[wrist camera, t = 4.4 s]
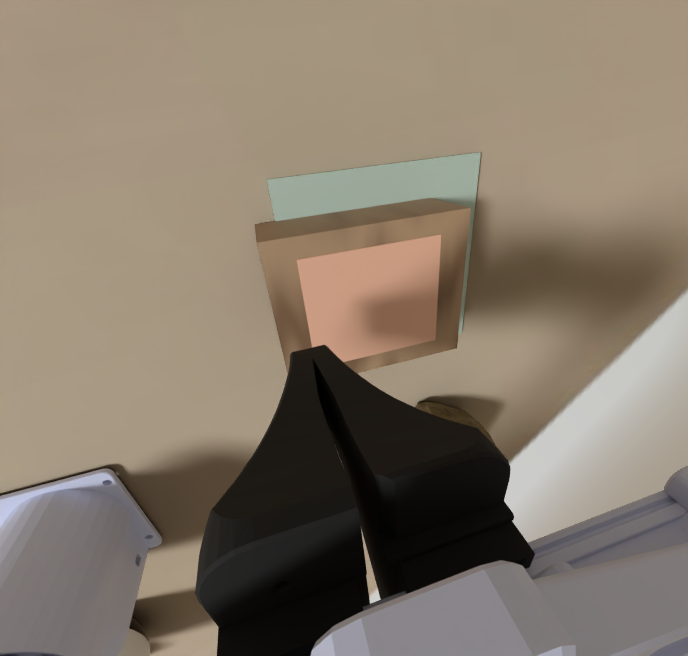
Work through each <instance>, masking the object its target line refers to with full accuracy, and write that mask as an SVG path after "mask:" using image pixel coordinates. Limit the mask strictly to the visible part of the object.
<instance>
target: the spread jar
mask: <svg viewBox="0 0 688 656" xmlns="http://www.w3.org/2000/svg"><path fill="white" fill-rule="evenodd" d="M119 656H150V644H149V640H148V637H147V634H146V632H145V630H144V629H143V627H142V626H141V625H140V623H139V622H138V621H136V620H135V619H134V618H133V617H132V618H131V622H130V627H129V631H128V634H127V637H126V640H125V643H124V645H123V648H122V650H121V652H120V654H119Z"/></svg>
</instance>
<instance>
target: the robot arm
mask: <svg viewBox="0 0 688 656" xmlns="http://www.w3.org/2000/svg"><path fill="white" fill-rule="evenodd" d="M333 441H334V442H333ZM335 446H336V447H335ZM336 449H337V450H336ZM337 452H338V453H337ZM338 454H339V455H338ZM339 457H340V458H339ZM340 459H341V460H340ZM341 462H342V463H341ZM342 464H343V465H342ZM343 467H344V468H343ZM509 478H510V465H509V462H508V460H507V459H506V458H505V457H504V455H503V454H502V453H501V452H500V451H499V449H498V448H497V447H496V446H495V445H494V444H493V443H492V442H491V441H490V440H489V439H488V438H487V437H486V436H485V435H484V434H483V433H482V432H481V431H480V430H479V429H478V428H476V427H472V426H469V425H465V424H461V423H458V422H454V421H451V420H447V419H444V418H441V417H438V416H435V415H433V414H430V413H427V412H424V411H422V410H419V409H417V408H415V407H412V406H410V405H408V404H406V403H404V402H402V401H399V400H397V399H395V398H393V397H392V396H390V395H388V394H386V393H385V392H383V391H381V390H380V389H378V388H376V387H375V386H373V385H372V384H371V383H369V382H368V381H366V380H365V379H363V378H362V377H361V376H359V375H358V374H357V373H356V372H354V371H353V370H352V369H351V368H350V367H348V366H347V365H346V364H345V363H344V362H343V361H342V360H340V359H339V358H338V357H337V356H336V355H335V354H334V353H333V352H332V351H331V350H330V349H329V347H328V346H326V345H321V346H317V347H312V348H308V349H303V350H299V351H295V352H292V353H291V354H290V365H289V371H288V376H287V380H286V384H285V387H284V391H283V394H282V397H281V399H280V402H279V405H278V408H277V410H276V413H275V415H274V417H273V419H272V421H271V424H270V426H269V428H268V430H267V432H266V433H265V435H264V437H263V439H262V441H261V443H260V444H259V446H258V448H257V449H256V451H255V453H254V454H253V456H252V457H251V459H250V460H249V462H248V463H247V464H246V466H245V467H244V469H243V470H242V472H241V473H240V475H239V476H238V478H237V479H236V480H235V482H234V483H233V484H232V485H231V487H230V488H229V489H228V490H227V492H226V493H225V494H224V495H223V497H222V498H221V499H220V500H219V501H218V503H217V504H216V505H215V506H214V508H213V509H212V510H211V512H210V515H209V518H208V522H207V525H206V528H205V532H204V537H203V541H202V545H201V550H200V555H199V563H198V572H197V582H196V591H195V593H196V595H197V598H198V600H199V602H200V603H201V605H202V606H203V607H204V609H205V610H206V611H207V613H208V614H209V615H210V616H211V618H212V619H213V620H214V622H215V623H216V624H217V625H218V627H219V631H218V647H217V656H688V466H686V467H684V468H682V469H680V470H678V471H677V472H676V473H674V474H673V475H672V476H671V477H670V478H669V480H668V481H667V483H666V485H665V487H664V490H663V491H660V492H658V493H655V494H653V495H650V496H648V497H645V498H642V499H640V500H637V501H635V502H632V503H629V504H627V505H624V506H622V507H620V508H617V509H614V510H611V511H609V512H606V513H604V514H601V515H598V516H596V517H593V518H591V519H588V520H586V521H583V522H580V523H578V524H575V525H573V526H570V527H568V528H565V529H562V530H560V531H557V532H555V533H552V534H549V535H547V536H544V537H542V538H539V539H537V540H534V541H531V542H529V543H527V541H526V540H525V539H524V537H523V536H522V535H521V533H520V532H519V530H518V529H517V528H516V526H515V525H514V523H513V522H512V520H513V519H514V515H513V513H512V512H511V510H510V509H509V507H508V506H507V505H506V503H505V502H504V497H505V494H506V490H507V486H508V482H509ZM360 525H361V526H360ZM361 529H362V532H363V536H364V539H365V543H366V547H367V550H368V554H369V558H370V561H371V565H372V569H373V572H374V576H375V580H376V583H377V587H378V591H379V594H380V598H381V600H379V601H377V602H374V603H371V604H370V601H369V593H368V586H367V579H366V574H367V571H366V564H365V556H364V549H363V541H362V533H361ZM161 542H162V537H161V536H160V534H159V533H158V532H157V530H156V529H155V527H154V526H153V525H152V523H151V522H150V521H149V519H148V518H147V516H146V515H145V514H144V512H143V511H142V510H141V508H140V507H139V506H138V504H137V503H136V501H135V500H134V499H133V497H132V496H131V495H130V493H129V492H128V491H127V489H126V488H125V486H124V485H123V484H122V482H121V481H120V480H119V478H118V477H117V475H116V474H115V473H114V471H112V470H111V469H107V468H105V469H100V470H96V471H92V472H89V473H85V474H81V475H77V476H74V477H70V478H66V479H62V480H59V481H55V482H51V483H47V484H44V485H40V486H36V487H32V488H28V489H25V490H21V491H17V492H13V493H10V494H6V495H2V496H0V656H119V654H120V652H121V650H122V648H123V645H124V643H125V640H126V637H127V634H128V631H129V627H130V622H131V618H132V614H133V610H134V606H135V602H136V598H137V594H138V590H139V586H140V582H141V578H142V574H143V570H144V566H145V562H146V558H147V554H148V550H149V549H151V548H154V547H157V546H159V545H160V544H161Z"/></svg>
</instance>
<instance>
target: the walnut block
mask: <svg viewBox="0 0 688 656" xmlns="http://www.w3.org/2000/svg"><path fill="white" fill-rule="evenodd" d="M470 212H471V208H470V207H465V206H461V205H457V204H453V203H449V202H445V201H441V200H437V199H433V198H425V199H418V200H412V201H405V202H398V203H392V204H385V205H379V206H372V207H366V208H359V209H353V210H346V211H340V212H333V213H326V214H320V215H313V216H307V217H300V218H294V219H287V220H281V221H274V222H267V223H261V224H255V232H256V240H257V246H258V250H259V254H260V258H261V263H262V267H263V271H264V275H265V280H266V284H267V288H268V292H269V297H270V301H271V305H272V309H273V313H274V318H275V322H276V326H277V330H278V335H279V339H280V343H281V347H282V352H283V356H284V360H285V364H286V368H287V373H288V371H289V365H290V354H291V353H292V352H295V351H299V350H303V349H308V348H312V347H317V346H321V345H326V346H328V347H329V349H330V350H331V351H332V352H333V353H334V354H335V355H336V356H337V357H338V358H339V359H340V360H342V361H343V362H344V363H345V364H346V365H347V366H348V367H350V368H351V369H352V370H353V371H354V372H356V373H359V372H363V371H367V370H371V369H375V368H379V367H383V366H387V365H391V364H395V363H399V362H403V361H407V360H411V359H415V358H419V357H423V356H427V355H431V354H435V353H439V352H443V351H447V350H451V349H455V348H457V342H458V332H459V322H460V312H461V302H462V292H463V282H464V272H465V262H466V252H467V242H468V232H469V222H470Z"/></svg>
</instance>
